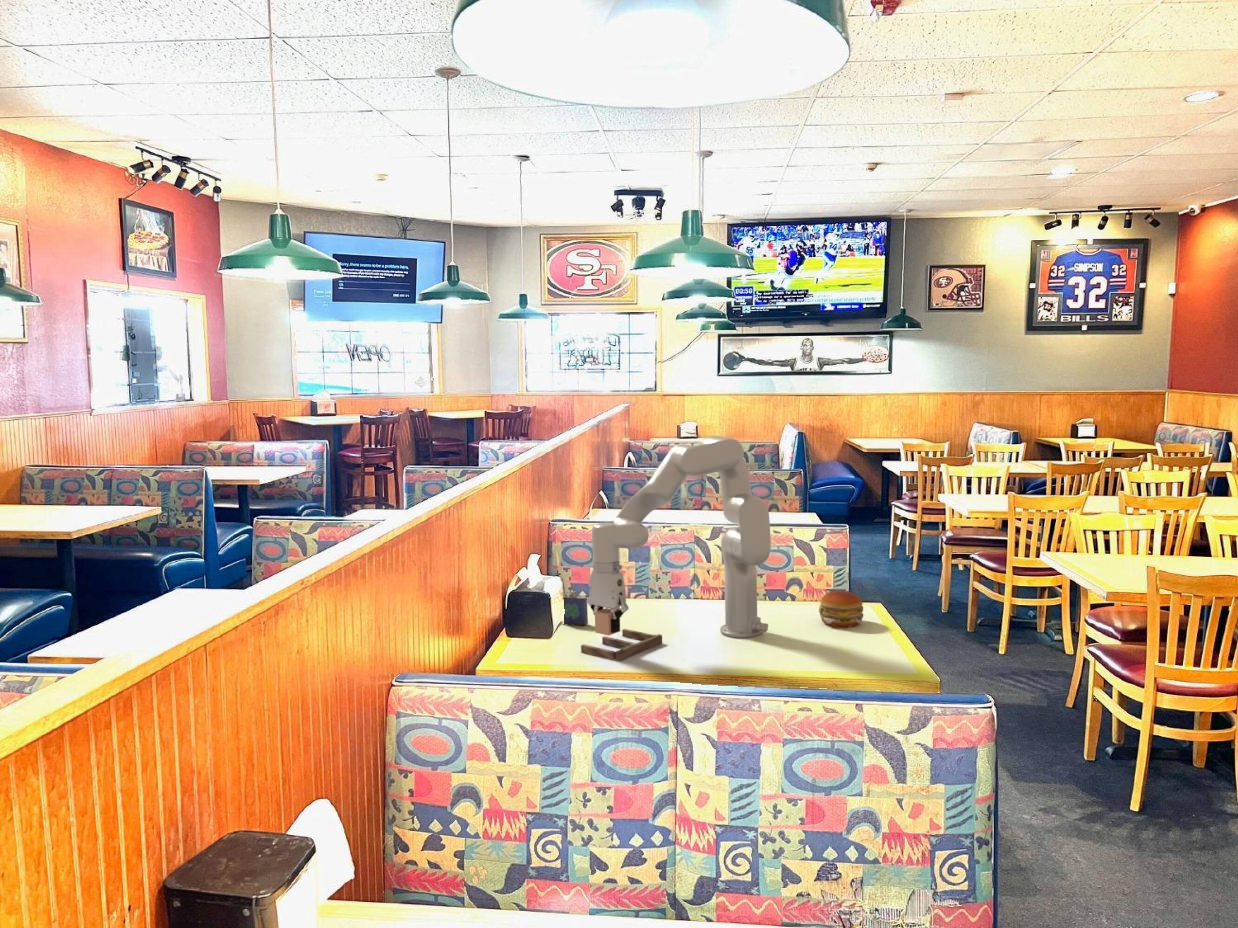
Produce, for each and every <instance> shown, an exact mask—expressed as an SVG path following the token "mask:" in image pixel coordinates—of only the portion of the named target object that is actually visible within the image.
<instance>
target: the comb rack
mask: <svg viewBox="0 0 1238 928" xmlns="http://www.w3.org/2000/svg"><path fill="white" fill-rule="evenodd" d="M621 631H622V637H624V638H628V639H634V640H638V641H639V642H632V641H628V640H623V639H619V638H613V637H609V636H607V635H605V636H602V637H601V639H602V643H601V644H602V645H605V646H610V647H613V648H619V650H617V651H614V650H610V649H606V648H603V647H596V646H593V645H588V644H581V645H580V652H581V653H584V654H587V655H591V656H595V657H600V658H604V659H608V660H612V661H614V660H615V661H616V662H621V661H623V660H627V659H628V658H630V657H633V656H635V655H638V654H640V653H642V652H645V651H648V650H649V649H652V648H654V647H657V646H659V645H662V644H663V634H651V633H647V632H641V631H636V630H634V629H628V628H623V629H622V630H621Z"/></svg>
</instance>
